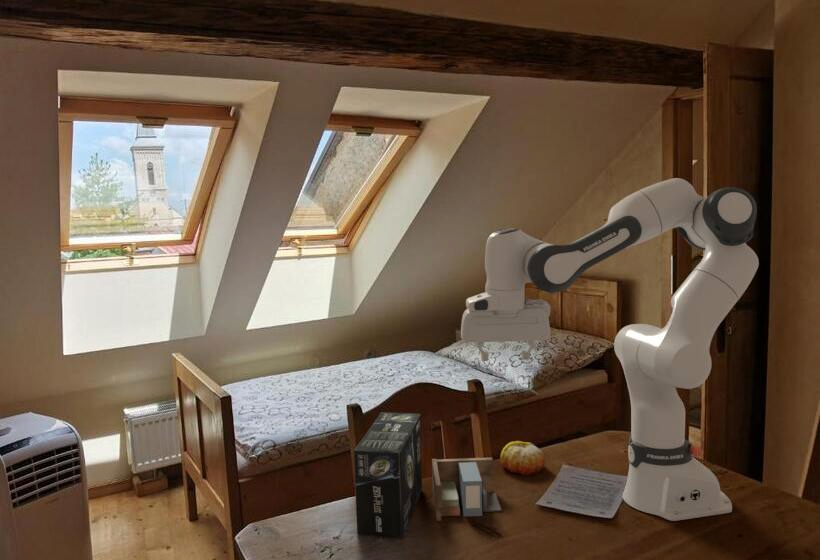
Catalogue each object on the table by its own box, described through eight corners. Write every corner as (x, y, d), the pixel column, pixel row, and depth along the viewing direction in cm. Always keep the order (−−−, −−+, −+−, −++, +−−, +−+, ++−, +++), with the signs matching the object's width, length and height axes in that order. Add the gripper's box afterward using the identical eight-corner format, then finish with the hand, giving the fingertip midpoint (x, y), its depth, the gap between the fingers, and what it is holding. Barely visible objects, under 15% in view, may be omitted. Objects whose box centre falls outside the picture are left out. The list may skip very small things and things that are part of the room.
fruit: (501, 476, 159) (499, 442, 160) (500, 471, 169) (499, 439, 171) (547, 476, 158) (545, 442, 159) (544, 471, 168) (542, 439, 169)
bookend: (495, 494, 150) (495, 478, 150) (501, 511, 142) (501, 493, 142) (478, 495, 150) (478, 478, 150) (483, 511, 142) (483, 494, 142)
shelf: (491, 489, 153) (491, 456, 152) (501, 518, 139) (501, 482, 138) (432, 491, 153) (431, 459, 152) (436, 520, 139) (435, 485, 138)
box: (403, 540, 131) (400, 450, 129) (356, 536, 133) (352, 448, 131) (423, 489, 154) (421, 412, 151) (382, 487, 156) (380, 410, 153)
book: (476, 495, 150) (475, 462, 149) (482, 516, 140) (481, 481, 139) (459, 495, 150) (458, 462, 149) (463, 517, 140) (463, 481, 139)
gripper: (547, 296, 151) (547, 355, 153) (459, 299, 150) (460, 357, 152) (553, 301, 145) (553, 361, 146) (462, 303, 144) (463, 364, 146)
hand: (505, 359), depth 149 cm, fingers open, 8 cm apart
